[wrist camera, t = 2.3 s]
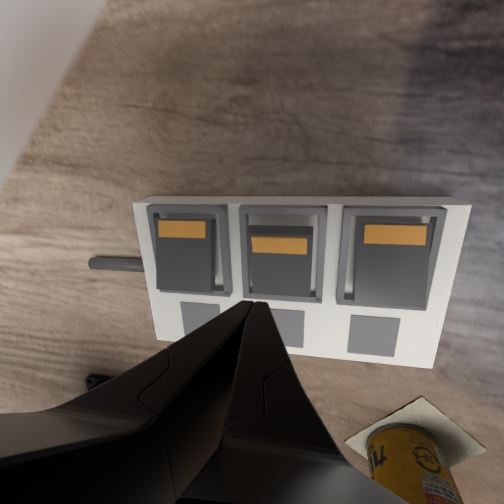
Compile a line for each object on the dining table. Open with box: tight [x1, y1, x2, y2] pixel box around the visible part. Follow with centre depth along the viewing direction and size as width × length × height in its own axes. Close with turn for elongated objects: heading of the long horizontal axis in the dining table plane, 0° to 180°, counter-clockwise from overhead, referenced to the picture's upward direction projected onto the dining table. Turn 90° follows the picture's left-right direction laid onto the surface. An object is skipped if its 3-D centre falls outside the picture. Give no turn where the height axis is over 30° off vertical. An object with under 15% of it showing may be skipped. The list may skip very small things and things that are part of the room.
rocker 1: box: [155, 218, 215, 293], centre depth 18 cm, size 4×4×1 cm
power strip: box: [88, 196, 472, 369], centre depth 21 cm, size 26×11×3 cm, turn 92°
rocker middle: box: [246, 225, 313, 297], centre depth 17 cm, size 4×4×1 cm
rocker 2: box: [352, 222, 432, 308], centre depth 16 cm, size 4×4×1 cm
